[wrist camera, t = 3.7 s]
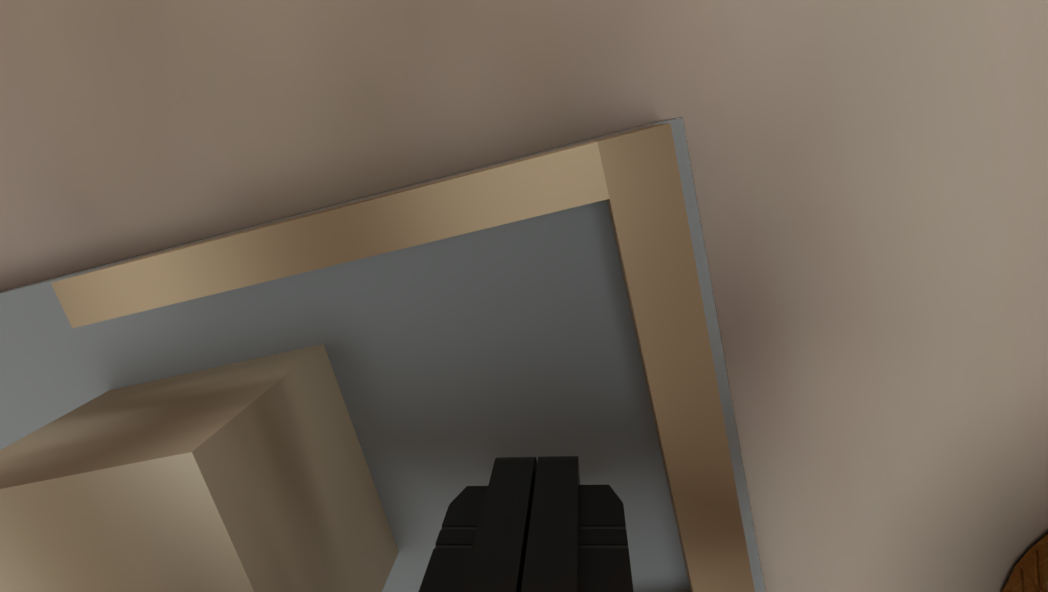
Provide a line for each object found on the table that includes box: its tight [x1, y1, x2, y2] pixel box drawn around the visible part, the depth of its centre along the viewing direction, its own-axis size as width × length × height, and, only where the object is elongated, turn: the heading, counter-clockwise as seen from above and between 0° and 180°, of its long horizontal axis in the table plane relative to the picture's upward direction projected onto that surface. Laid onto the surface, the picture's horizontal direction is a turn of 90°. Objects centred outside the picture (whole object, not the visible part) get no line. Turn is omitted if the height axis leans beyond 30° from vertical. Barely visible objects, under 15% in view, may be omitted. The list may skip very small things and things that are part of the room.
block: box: [0, 344, 399, 592], centre depth 10 cm, size 5×5×4 cm
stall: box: [51, 123, 755, 592], centre depth 11 cm, size 10×10×2 cm
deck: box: [0, 117, 765, 592], centre depth 14 cm, size 25×15×2 cm, turn 104°
